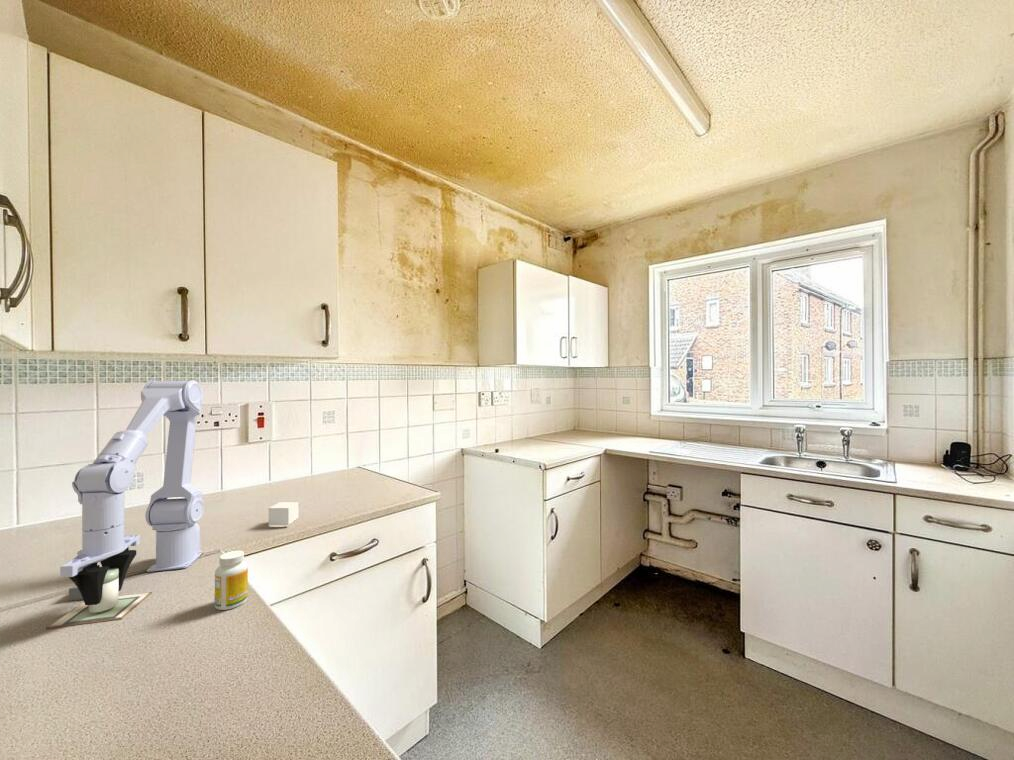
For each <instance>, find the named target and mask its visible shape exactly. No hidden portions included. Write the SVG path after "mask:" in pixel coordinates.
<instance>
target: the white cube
mask: <svg viewBox="0 0 1014 760" xmlns="http://www.w3.org/2000/svg"><path fill="white" fill-rule="evenodd" d="M299 505H300V504H299V502H297V501H296V502H295V501H287V502H286V501H285V502H284V501H283V502H282V501H280V502H277V503H275V504H274V505H271V506H269V507H268V526H269V525H289V524H290V523H292V522H293V521H294V520H296V519H297V518H300V517H299V514H300V513H299V510H300V509H299Z"/></svg>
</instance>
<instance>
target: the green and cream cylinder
mask: <svg viewBox="0 0 1014 760" xmlns="http://www.w3.org/2000/svg"><path fill="white" fill-rule="evenodd" d="M119 592H120V591H119V569H118V568H109V569H108V571H107V573H106V576H105V579H104V582H103V589H102V598H101V602H100V603H99V604H97V605H89V612H91V613H96V612H101V611H105V610H108V609H111V608H113V607H115V606H116V605H118V603H119V596H120V595H119V594H120V593H119Z"/></svg>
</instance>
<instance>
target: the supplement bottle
mask: <svg viewBox="0 0 1014 760" xmlns="http://www.w3.org/2000/svg"><path fill="white" fill-rule="evenodd" d="M244 559H245V552H244V551H243V550H232V551H228V552H225V553H223V554H221V555H220V556H219V560H218V561H219V562H218V563H219V566H218V567H217V568H216V569H215V572H214V608H215V609H216V610H218V611H227V610H231V609H235V608H238V607H240V606H242V605H244V604H245V602H246V601H247V600H248V587H249V586H248V581H249V578H248V577H249V574H248V572H249V571H248V570H249V569H248V568H249V567H248V563H247V562H246V561H244Z"/></svg>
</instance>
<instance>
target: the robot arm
mask: <svg viewBox="0 0 1014 760" xmlns="http://www.w3.org/2000/svg"><path fill="white" fill-rule="evenodd" d="M203 399H204V391H203V389H202V387H201V385H200V384H199V383H198V382H197V381H196V380H194V379H193V380H191V379H190V380H149V381H148V382H147V383H146V384H145V385H144V387H143V389H142V390H141V391H140V400H141V404H140V405H139V407H138V408H137V410H136V412H135V413H134V415H133V418H132V419H131V420H130V422H129V424H128V425H127V428H126V429H125V430H121V431H117V432H116V433H114V434H113V436H112V437H111V438H110V439H109V441H108V442H107V444H106V445H105V446H104V448H103V449H102V450H101V451H100V453H99V454H98V455H97V457H96V458H95V460H94V461H93V462H92V463H89V464H87V465H85V466H83V467H82V468H80V469H79V470H78V471H77V472H76V474H75V476H74V479H73V481H72V482H71V486H72V489H73V491H74V493H76V495H77V502H78V503H79V504H80V505H81V510H82V512H81V516H82V517H81V519H82V520H81V521H82V522H81V533H82V535H81V538H82V542H81V547H82V548H81V549H80V550H78V551H77V552H76V556H75V557H74V558H72V559H71V560H69V561H68V562H67V563H64V564H62V565H60V569H59V570H60V571H59V576H60V577H59V578H69V580H71V581H72V582H73V583H74V585H76V586H77V587H78V589H79V591H80V593H81V595H82V598H83V599H82V600H83V602H84V603H85V605H97V604H99V603H100V602H101V598H102V589H103V582H104V579H105V576H106V573H107V571H108V569H109V568H118V569H119V592H120V591H122V588H123V584H124V582H125V578H126V576H127V572H128V570H129V568H130V565H132V562H133V560H134V559H135V557H136V556H137V550H136V549H130V548H131V547H136V546H138V545H140V544H141V535H140V534H130V535H128V536H125V491H126V490H128V488H129V487H130V486H131V484H132V482H133V481H134V472H135V470H136V463H137V461H138V460H139V458H140V457H141V455H142V454H143V452H145V450H146V447H148V444H149V443H148V439H147V438H146V437H147V435H149V433H150V432H151V430H152V429H154V427H155V426H156V425H157V423H158V422H159V421H160V420H161V418H162V417H164V416H165V417H166V418H167V419H168V421H169V427H168V428H169V429H168V437H167V446H166V447H167V448H166V454H165V456H166V457H165V466H164V476H163V485H162V486H161V488H159V489H157V490H156V491H155V492H154V493H152V494H150V500H149V503H148V506H147V508H146V510H145V516H144V517H145V521H146V523H147V525H148V526H150V527H151V530H152V531H155V563H154V564H152V565H151V566H150V567H149V568H147V569H146V572H147V573H149V572H151V573H152V572H158V571H168V570H178V569H185V568H188V567H189V566H190V565H191V564H193V563H194V562H195V561H196V560H197V559H199V557H201V556H202V555H201V553H200V554H197V553H198V552H202V550H203V551H205V549H201V527H200V525H199V524H198V523H199V521H200V520H201V518H202V516H203V514H204V510H205V505H204V504H205V503H204V501H203V491H202V490H200V489H199V488H197V487H196V486H194V485H192V484H191V483H192V482H191V481H192V470H193V462H194V460H193V459H194V449H195V437H196V427H197V416H199V415H201V414H202V407H203ZM200 555H201V556H200ZM98 563H100V564H98ZM100 565H101V566H100Z"/></svg>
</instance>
